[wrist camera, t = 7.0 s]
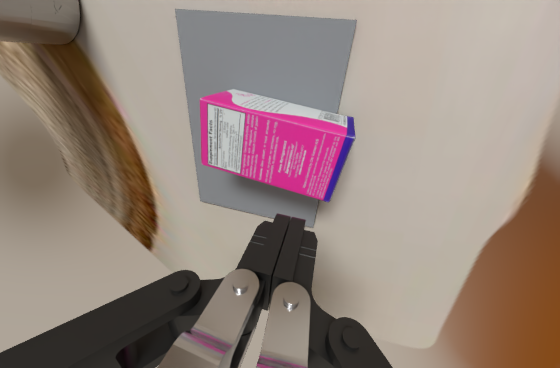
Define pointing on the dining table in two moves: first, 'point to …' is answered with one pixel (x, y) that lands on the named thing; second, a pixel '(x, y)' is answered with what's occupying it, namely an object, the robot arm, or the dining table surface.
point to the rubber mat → (260, 86)
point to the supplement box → (275, 142)
